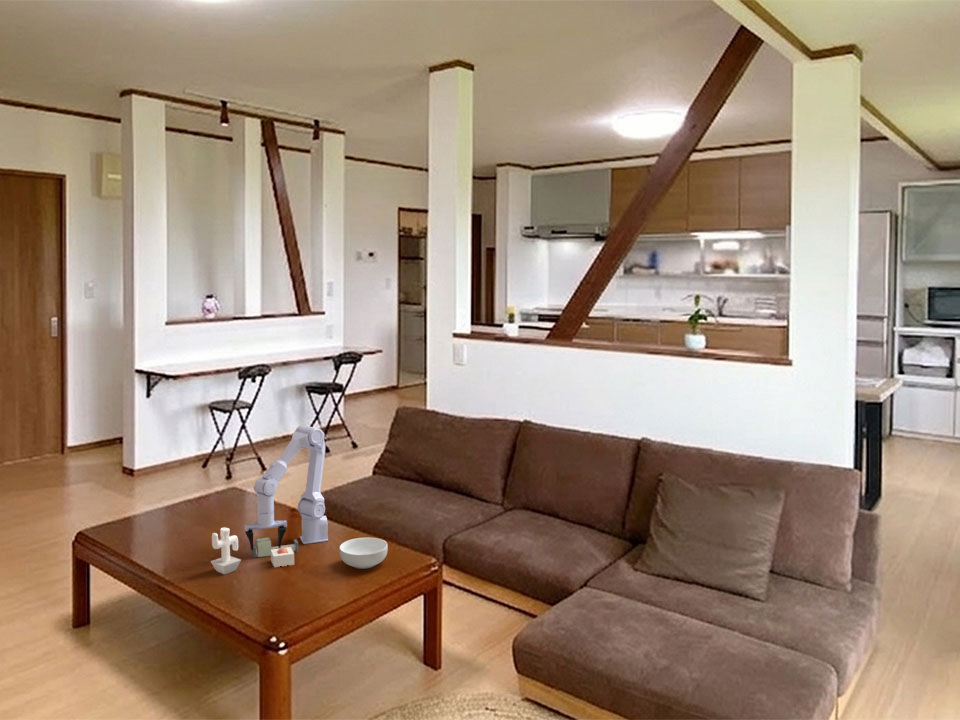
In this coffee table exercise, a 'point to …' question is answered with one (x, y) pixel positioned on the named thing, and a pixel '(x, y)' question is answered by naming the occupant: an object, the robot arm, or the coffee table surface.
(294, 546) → the slide rail
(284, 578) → the coffee table surface
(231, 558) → the figurine
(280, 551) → the plunger
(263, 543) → the block
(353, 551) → the cereal bowl
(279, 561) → the box
